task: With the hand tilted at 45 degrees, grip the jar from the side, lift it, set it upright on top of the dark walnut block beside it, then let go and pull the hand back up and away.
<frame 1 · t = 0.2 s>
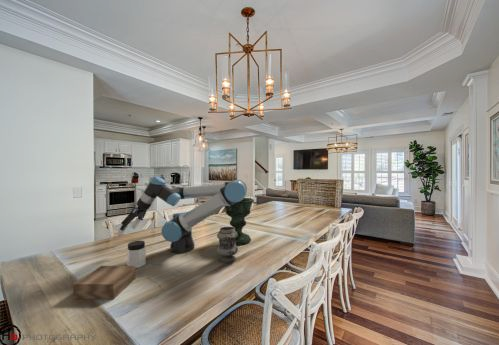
hand: (126, 231, 125), 15 cm above the table, tool tilted 35°, fingers open, 13 cm apart
apothecary jar: (227, 259, 123), on the table
walnut block: (107, 287, 93), on the table
goblet: (237, 241, 154), on the table
jar: (136, 265, 115), on the table
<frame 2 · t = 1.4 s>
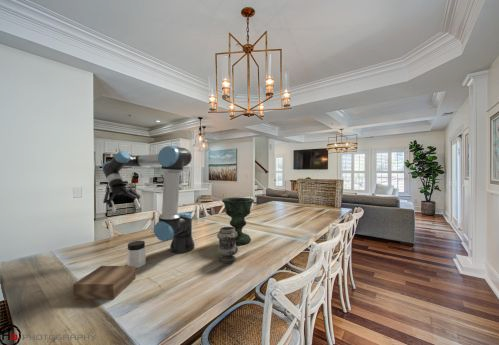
hand: (127, 209, 125), 28 cm above the table, tool tilted 45°, fingers open, 13 cm apart
nothing on the table moved.
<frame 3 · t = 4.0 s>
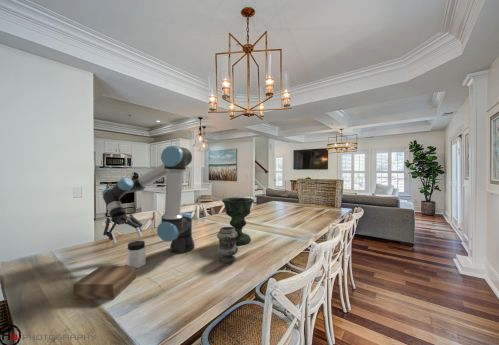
hand: (128, 240, 118), 12 cm above the table, tool tilted 45°, fingers open, 13 cm apart
nothing on the table moved.
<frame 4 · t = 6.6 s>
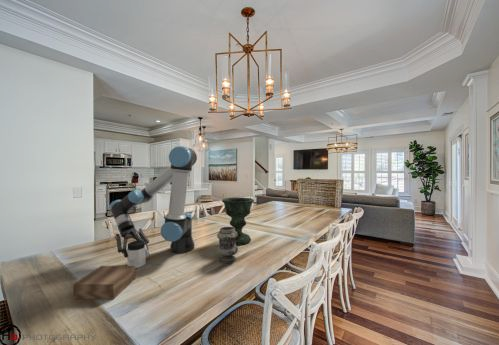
hand: (139, 258, 113), 4 cm above the table, tool tilted 45°, fingers closed on jar, 8 cm apart
jar: (136, 265, 115), on the table, touching gripper
everything else where it was.
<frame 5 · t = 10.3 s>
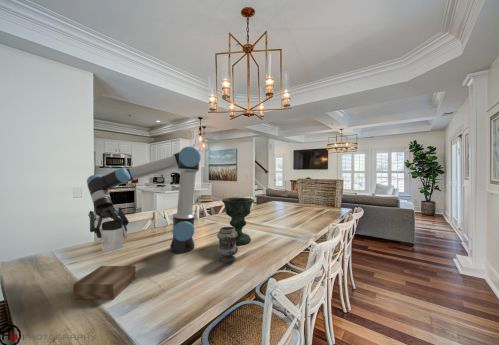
hand: (115, 240, 98), 19 cm above the table, tool tilted 45°, fingers closed on jar, 8 cm apart
jar: (112, 248, 100), point 14 cm above the table, touching gripper
everything else where it was.
when the fingers open (11 cm above the table, at t = 14.3 s): jar stays where it is, resting on walnut block.
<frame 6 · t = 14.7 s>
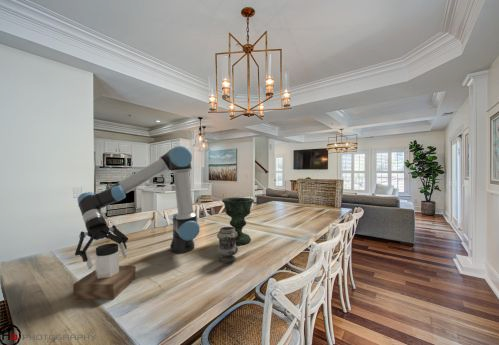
hand: (109, 261, 91), 12 cm above the table, tool tilted 45°, fingers open, 13 cm apart
jar: (107, 274, 93), point 6 cm above the table, touching walnut block
everything else where it was.
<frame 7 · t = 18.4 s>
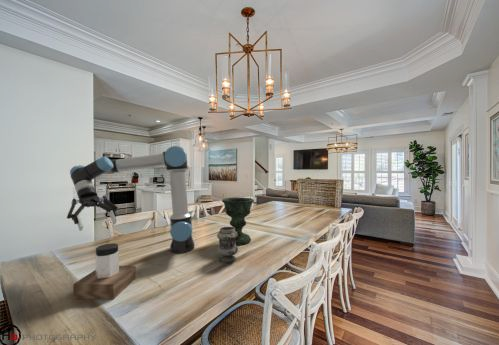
hand: (99, 225, 100), 25 cm above the table, tool tilted 45°, fingers open, 13 cm apart
nothing on the table moved.
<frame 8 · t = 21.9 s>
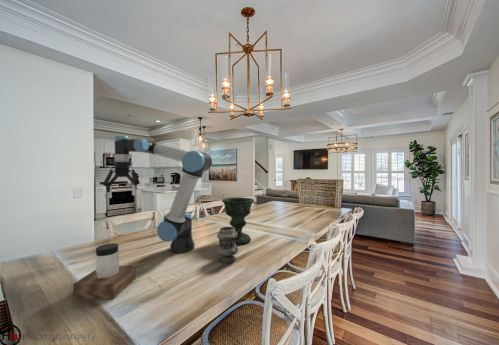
hand: (122, 196, 131), 35 cm above the table, tool pointing down, fingers open, 13 cm apart
nothing on the table moved.
at the end: jar inside the target area on the walnut block (0.3 cm from its centre), point 5.8 cm above the walnut block's base; jar tilted 0°; the gripper is holding nothing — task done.
